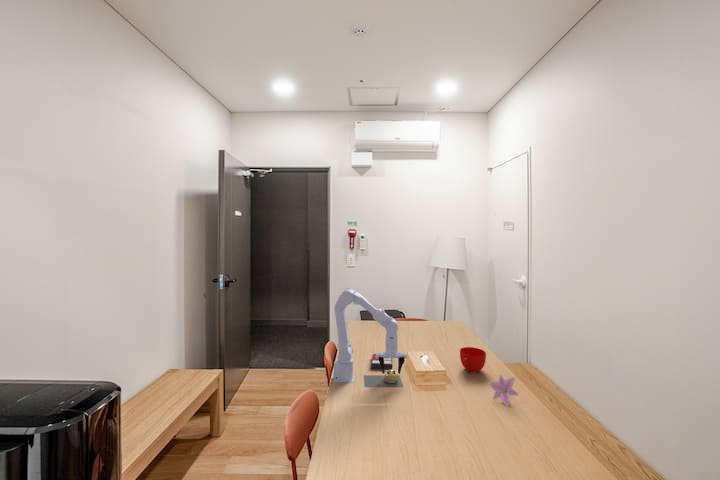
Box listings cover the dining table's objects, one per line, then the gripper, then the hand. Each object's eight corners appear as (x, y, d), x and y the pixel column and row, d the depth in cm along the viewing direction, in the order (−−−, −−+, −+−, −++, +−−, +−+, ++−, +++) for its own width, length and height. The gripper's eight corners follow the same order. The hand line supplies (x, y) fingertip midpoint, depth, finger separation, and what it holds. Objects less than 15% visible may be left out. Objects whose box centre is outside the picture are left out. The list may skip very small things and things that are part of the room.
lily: (485, 393, 146) (482, 379, 142) (508, 382, 147) (505, 367, 143) (503, 415, 135) (500, 400, 131) (527, 403, 136) (524, 388, 132)
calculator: (392, 353, 181) (392, 363, 166) (391, 361, 181) (392, 371, 166) (372, 352, 182) (371, 362, 167) (372, 360, 182) (371, 370, 167)
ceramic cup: (451, 372, 164) (451, 353, 164) (466, 363, 177) (466, 345, 177) (476, 381, 156) (476, 360, 155) (489, 370, 168) (490, 351, 168)
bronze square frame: (386, 381, 151) (386, 375, 151) (384, 376, 157) (384, 370, 157) (397, 381, 151) (397, 375, 151) (396, 376, 157) (396, 370, 157)
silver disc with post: (385, 384, 151) (385, 373, 151) (383, 377, 157) (383, 367, 157) (398, 383, 151) (398, 373, 151) (396, 377, 157) (396, 367, 157)
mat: (364, 388, 148) (364, 387, 148) (363, 376, 160) (363, 375, 160) (403, 387, 148) (403, 386, 148) (399, 376, 160) (399, 375, 160)
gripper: (377, 347, 149) (376, 376, 150) (407, 347, 150) (407, 376, 150) (375, 342, 156) (375, 370, 157) (405, 342, 157) (405, 369, 157)
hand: (391, 372), depth 154 cm, fingers open, 7 cm apart
